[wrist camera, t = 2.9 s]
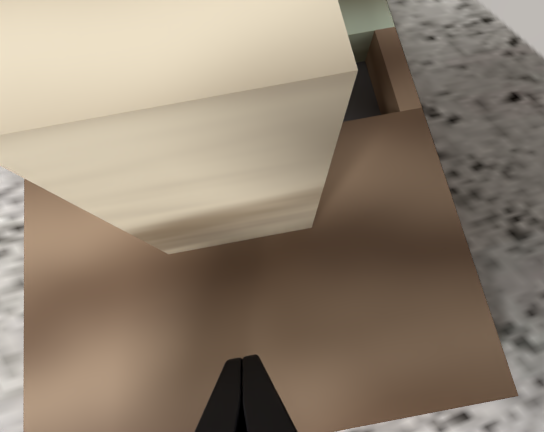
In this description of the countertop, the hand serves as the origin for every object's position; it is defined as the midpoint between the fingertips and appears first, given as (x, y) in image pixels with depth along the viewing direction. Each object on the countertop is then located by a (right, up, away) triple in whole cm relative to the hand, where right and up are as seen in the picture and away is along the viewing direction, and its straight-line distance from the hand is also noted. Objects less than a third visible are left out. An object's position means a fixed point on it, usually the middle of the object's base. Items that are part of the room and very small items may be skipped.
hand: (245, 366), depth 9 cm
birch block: (-1, +6, +6) cm, 9 cm away
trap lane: (-1, +6, +9) cm, 11 cm away
